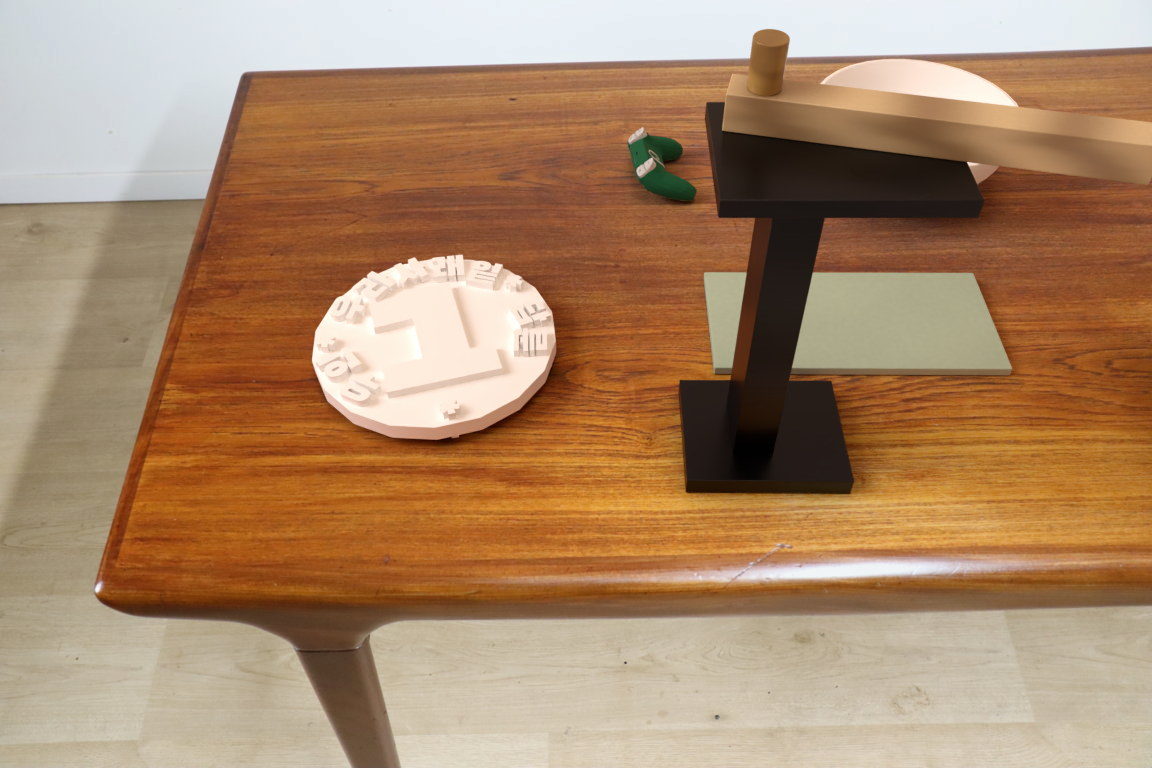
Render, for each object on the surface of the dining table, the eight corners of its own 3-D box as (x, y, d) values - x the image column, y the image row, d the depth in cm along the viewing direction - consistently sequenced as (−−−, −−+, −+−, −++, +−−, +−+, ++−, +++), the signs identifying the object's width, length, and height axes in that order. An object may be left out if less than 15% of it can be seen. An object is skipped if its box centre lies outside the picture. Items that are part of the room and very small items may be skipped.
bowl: (832, 113, 105) (847, 42, 98) (1015, 158, 98) (1042, 85, 92) (771, 208, 93) (784, 134, 87) (974, 266, 86) (1003, 190, 80)
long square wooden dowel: (1142, 161, 52) (1186, 70, 48) (1148, 185, 51) (1194, 94, 47) (727, 110, 57) (737, 23, 53) (721, 131, 55) (731, 43, 51)
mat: (970, 279, 85) (973, 272, 85) (1009, 375, 77) (1013, 369, 76) (703, 278, 86) (704, 271, 85) (713, 374, 78) (714, 367, 77)
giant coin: (288, 439, 73) (279, 414, 71) (348, 274, 87) (342, 249, 85) (545, 451, 72) (544, 426, 70) (565, 282, 86) (565, 257, 84)
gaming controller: (657, 168, 101) (618, 137, 97) (684, 144, 99) (645, 111, 96) (673, 221, 95) (632, 189, 91) (702, 196, 93) (660, 163, 89)
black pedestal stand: (853, 393, 76) (939, 101, 57) (877, 494, 69) (985, 200, 50) (678, 392, 76) (706, 101, 57) (685, 492, 69) (720, 200, 50)
